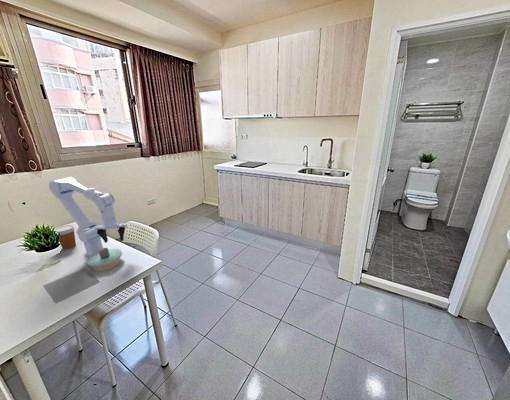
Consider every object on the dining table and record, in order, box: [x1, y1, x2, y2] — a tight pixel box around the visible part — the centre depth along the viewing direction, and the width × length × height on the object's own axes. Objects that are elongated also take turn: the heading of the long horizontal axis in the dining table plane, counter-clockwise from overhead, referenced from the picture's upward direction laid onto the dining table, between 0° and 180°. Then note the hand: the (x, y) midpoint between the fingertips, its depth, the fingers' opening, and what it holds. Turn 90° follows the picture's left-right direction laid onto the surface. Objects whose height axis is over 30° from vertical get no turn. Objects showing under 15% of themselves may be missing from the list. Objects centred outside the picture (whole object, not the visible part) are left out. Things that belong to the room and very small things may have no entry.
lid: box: [86, 247, 123, 267], centre depth 113 cm, size 15×15×5 cm
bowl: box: [91, 257, 121, 272], centre depth 115 cm, size 12×12×4 cm
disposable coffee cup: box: [54, 224, 77, 250], centre depth 131 cm, size 10×10×12 cm
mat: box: [43, 267, 101, 304], centre depth 101 cm, size 18×16×1 cm
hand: (114, 241), depth 118 cm, fingers open, 7 cm apart
